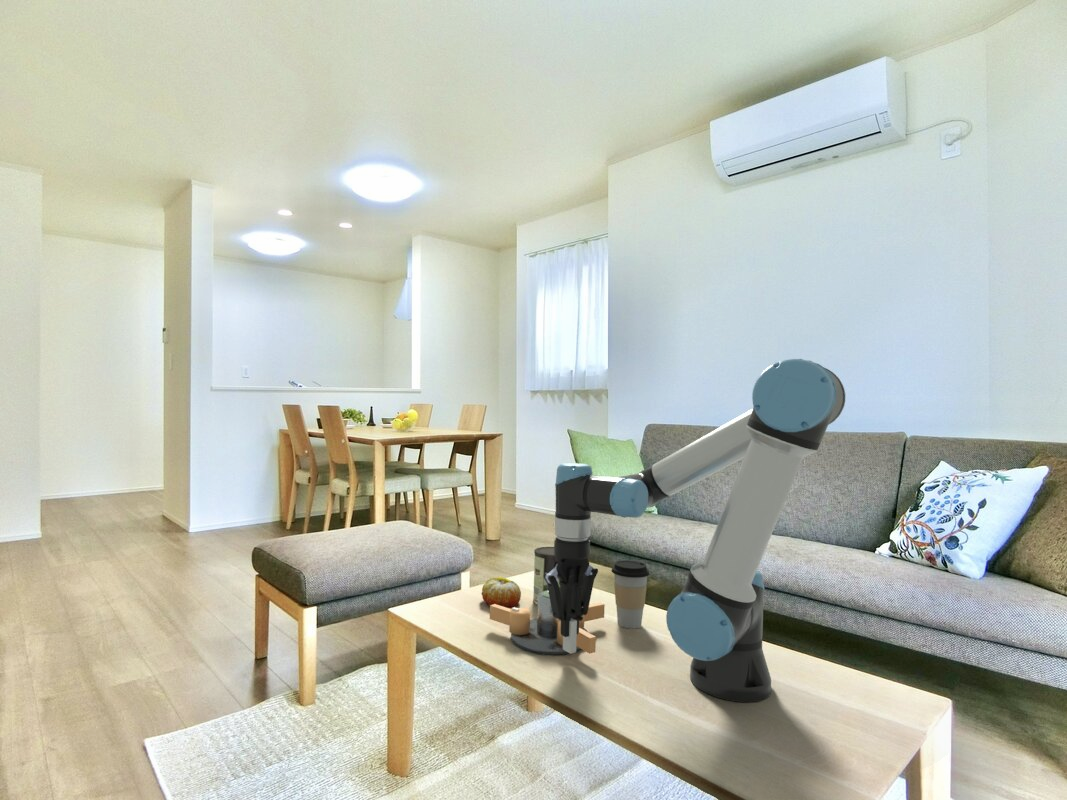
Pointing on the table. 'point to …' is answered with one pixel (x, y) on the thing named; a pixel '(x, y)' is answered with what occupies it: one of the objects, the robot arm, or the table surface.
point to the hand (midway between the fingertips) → (569, 650)
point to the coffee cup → (630, 591)
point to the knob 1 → (512, 618)
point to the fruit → (501, 592)
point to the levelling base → (539, 642)
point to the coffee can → (542, 569)
